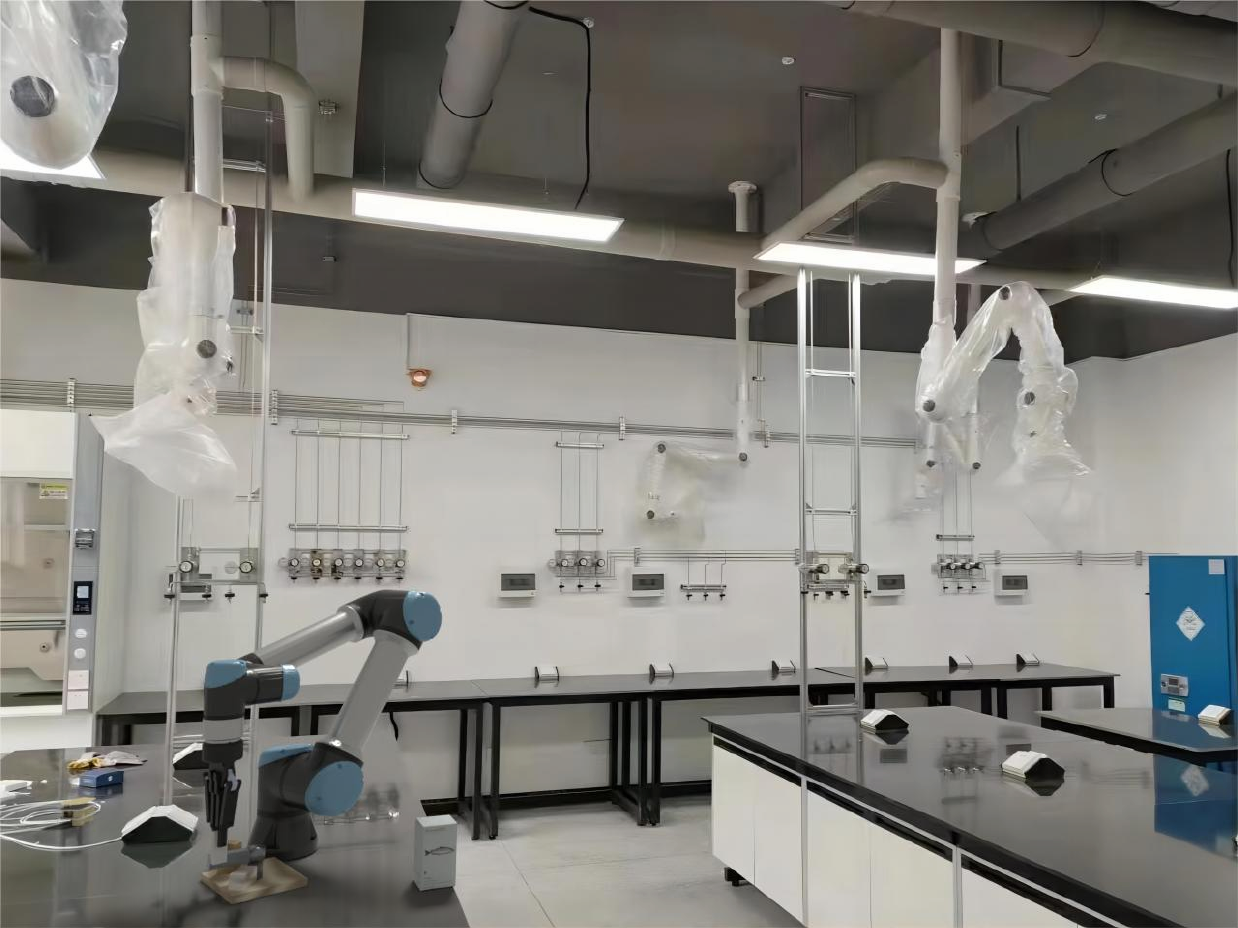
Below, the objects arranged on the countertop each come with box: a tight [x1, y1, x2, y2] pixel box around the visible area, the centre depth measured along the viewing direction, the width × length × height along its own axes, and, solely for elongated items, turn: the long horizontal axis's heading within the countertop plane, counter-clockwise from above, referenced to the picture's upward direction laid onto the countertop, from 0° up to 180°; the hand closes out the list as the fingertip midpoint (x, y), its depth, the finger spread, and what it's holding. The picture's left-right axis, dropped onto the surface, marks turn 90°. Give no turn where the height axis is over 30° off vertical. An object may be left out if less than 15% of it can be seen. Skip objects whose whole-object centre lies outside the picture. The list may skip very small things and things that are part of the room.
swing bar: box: [206, 844, 266, 871], centre depth 185 cm, size 11×4×2 cm, turn 127°
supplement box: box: [412, 814, 458, 892], centre depth 189 cm, size 7×7×13 cm
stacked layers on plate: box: [59, 796, 97, 827], centre depth 228 cm, size 10×9×6 cm
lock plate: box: [201, 839, 309, 905], centre depth 188 cm, size 15×17×8 cm
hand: (218, 862), depth 181 cm, fingers closed
